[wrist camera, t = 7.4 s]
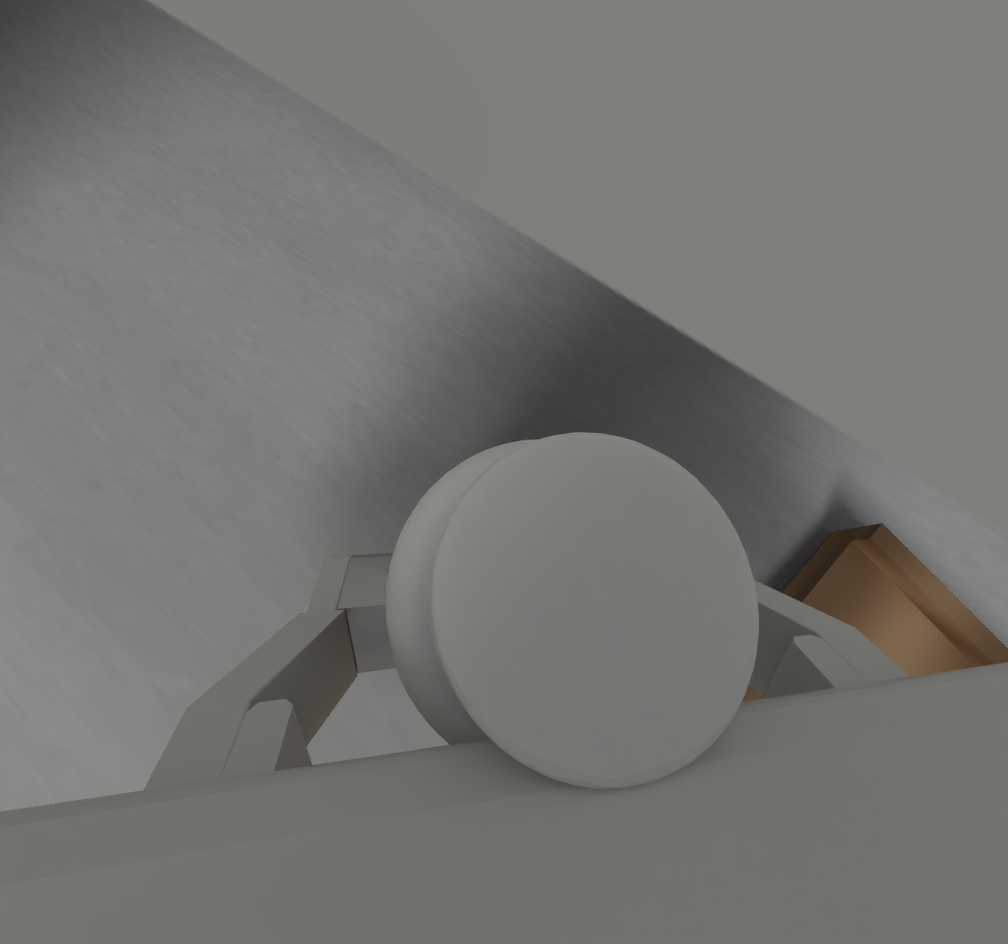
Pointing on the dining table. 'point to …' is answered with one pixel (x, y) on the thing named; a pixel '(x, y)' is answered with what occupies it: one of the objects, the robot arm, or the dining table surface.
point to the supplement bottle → (574, 609)
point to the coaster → (893, 604)
